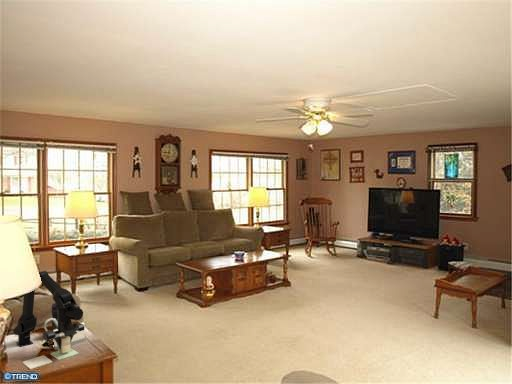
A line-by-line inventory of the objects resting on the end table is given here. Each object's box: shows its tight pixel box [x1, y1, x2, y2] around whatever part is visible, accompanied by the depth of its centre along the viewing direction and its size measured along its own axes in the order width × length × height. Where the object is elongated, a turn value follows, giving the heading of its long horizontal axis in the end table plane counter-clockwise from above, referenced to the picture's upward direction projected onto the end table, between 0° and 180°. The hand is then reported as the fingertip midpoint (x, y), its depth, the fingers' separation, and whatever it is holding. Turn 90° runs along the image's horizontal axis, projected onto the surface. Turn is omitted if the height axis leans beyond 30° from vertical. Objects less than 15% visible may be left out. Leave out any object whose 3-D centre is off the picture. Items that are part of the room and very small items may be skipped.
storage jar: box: [51, 302, 70, 331], centre depth 243 cm, size 10×10×15 cm
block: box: [57, 335, 71, 353], centre depth 211 cm, size 5×4×7 cm
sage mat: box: [49, 347, 79, 361], centre depth 211 cm, size 10×10×1 cm
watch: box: [43, 317, 58, 332], centre depth 231 cm, size 6×8×11 cm
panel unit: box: [53, 321, 87, 351], centre depth 226 cm, size 12×16×10 cm
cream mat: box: [21, 354, 53, 370], centre depth 202 cm, size 10×10×1 cm
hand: (64, 347), depth 211 cm, fingers closed on block, 4 cm apart
